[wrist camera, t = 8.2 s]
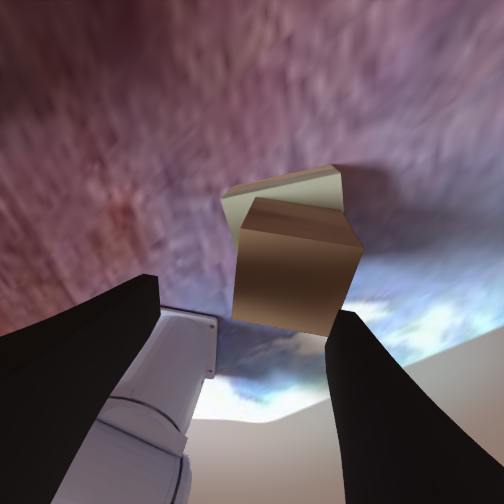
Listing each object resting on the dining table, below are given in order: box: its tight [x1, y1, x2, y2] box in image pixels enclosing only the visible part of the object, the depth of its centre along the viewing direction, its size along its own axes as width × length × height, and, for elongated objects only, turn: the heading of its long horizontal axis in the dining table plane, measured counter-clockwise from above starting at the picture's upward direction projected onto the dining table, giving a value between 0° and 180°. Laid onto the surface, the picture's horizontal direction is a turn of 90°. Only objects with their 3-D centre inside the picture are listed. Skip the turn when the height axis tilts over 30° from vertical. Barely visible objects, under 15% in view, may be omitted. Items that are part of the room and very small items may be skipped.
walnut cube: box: [231, 197, 364, 337], centre depth 13 cm, size 5×5×5 cm
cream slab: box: [221, 164, 344, 255], centre depth 17 cm, size 7×7×4 cm
